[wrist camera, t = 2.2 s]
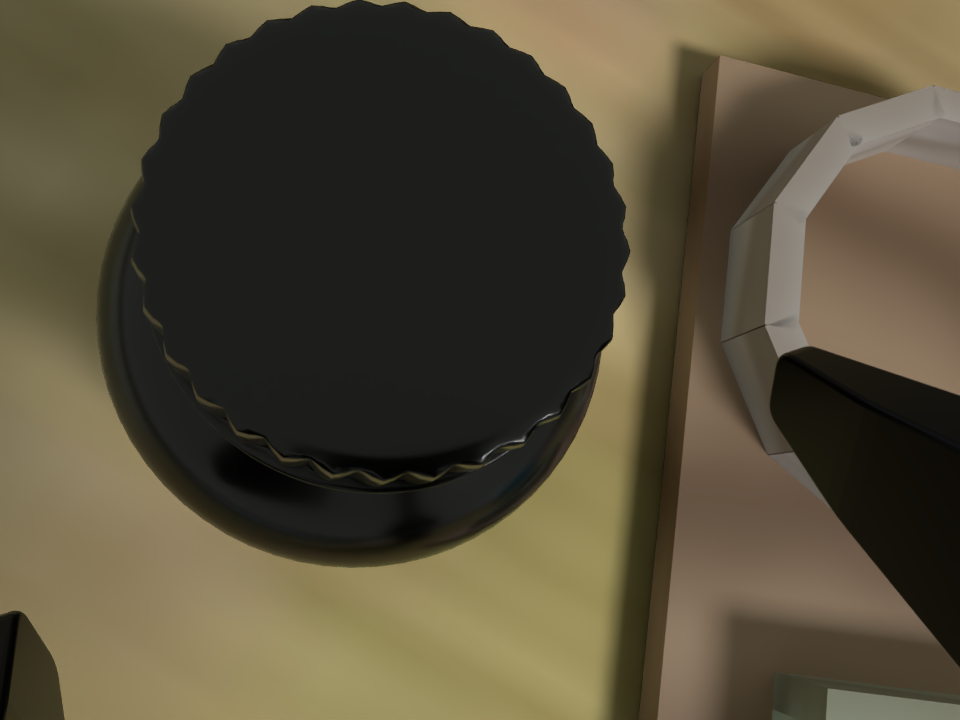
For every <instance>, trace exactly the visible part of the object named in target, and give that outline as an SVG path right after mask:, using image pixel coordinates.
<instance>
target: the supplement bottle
mask: <svg viewBox="0 0 960 720" xmlns="http://www.w3.org/2000/svg"><path fill="white" fill-rule="evenodd" d="M159 132H160V133H159V139H158V141H157V142H156V143H155V145H153V146H152V147H151V148H150V149H149V150H148V151H147V153H146V154H145V155H144V157H143V158H142V160H141V170H142V176H141V177H140V179H139V180H138V182H137V183H136V185H135V186H134V188H133V189H132V191H131V193H130V194H129V196H128V198H127V200H126V202H125V204H124V205H123V207H122V209H121V211H120V213H119V215H118V217H117V220H116V222H115V225H114V228H113V230H112V233H111V235H110V238H109V241H108V244H107V248H106V252H105V256H104V259H103V263H102V267H101V274H100V280H99V286H98V294H97V315H96V320H97V336H98V347H99V353H100V359H101V365H102V370H103V374H104V377H105V381H106V384H107V388H108V391H109V395H110V397H111V400H112V402H113V405H114V407H115V410H116V412H117V415H118V417H119V419H120V421H121V423H122V425H123V427H124V429H125V431H126V433H127V435H128V436H129V438H130V440H131V442H132V444H133V445H134V447H135V448H136V449H137V451H138V452H139V454H140V455H141V457H142V458H143V460H144V461H145V463H146V464H147V465H148V467H149V468H150V469H151V470H152V471H153V473H154V474H155V475H156V476H157V477H158V479H159V480H160V481H161V482H162V483H163V485H164V486H165V487H167V488H168V489H169V490H170V491H171V492H172V493H173V494H174V495H175V496H176V497H177V498H178V499H179V500H180V501H181V502H182V503H183V504H184V505H186V506H187V507H188V508H189V509H191V510H192V511H193V512H195V513H196V514H197V515H198V516H200V517H201V518H202V519H203V520H205V521H206V522H208V523H210V524H211V525H213V526H214V527H216V528H217V529H219V530H221V531H222V532H224V533H225V534H227V535H229V536H231V537H233V538H235V539H237V540H239V541H241V542H243V543H245V544H247V545H249V546H251V547H254V548H257V549H259V550H262V551H265V552H267V553H270V554H272V555H275V556H279V557H283V558H287V559H290V560H294V561H298V562H303V563H309V564H315V565H321V566H332V567H348V568H356V567H379V566H386V565H393V564H400V563H406V562H410V561H414V560H418V559H422V558H426V557H429V556H432V555H435V554H438V553H441V552H444V551H447V550H449V549H452V548H454V547H456V546H458V545H461V544H463V543H465V542H467V541H469V540H471V539H474V538H475V537H477V536H479V535H480V534H482V533H484V532H485V531H487V530H489V529H490V528H492V527H494V526H495V525H497V524H498V523H499V522H501V521H502V520H503V519H505V518H506V517H507V516H509V515H510V514H512V513H513V512H514V511H515V510H516V509H518V508H519V507H520V506H521V505H522V504H523V503H524V502H525V501H526V500H528V499H529V498H530V497H531V496H532V495H533V494H534V493H535V492H536V491H537V489H538V488H539V487H540V486H541V485H542V484H543V483H544V482H545V481H546V480H547V478H548V477H549V476H550V475H551V473H552V472H553V471H554V469H555V468H556V466H557V465H558V464H559V462H560V461H561V460H562V458H563V457H564V455H565V453H566V452H567V450H568V448H569V447H570V445H571V443H572V442H573V440H574V438H575V436H576V434H577V432H578V430H579V428H580V426H581V423H582V421H583V419H584V417H585V415H586V412H587V409H588V406H589V404H590V401H591V398H592V395H593V392H594V388H595V384H596V380H597V375H598V371H599V365H600V358H601V351H602V350H603V349H604V348H605V347H606V346H607V345H608V344H609V343H610V342H611V340H612V337H613V314H614V313H615V311H616V310H617V309H618V308H619V306H620V305H621V303H622V301H623V299H624V298H625V284H624V281H623V277H622V271H623V269H624V267H625V265H626V262H627V260H628V257H629V254H630V249H629V245H628V241H627V239H626V237H625V235H624V232H623V229H622V228H623V222H624V219H625V212H626V206H625V204H624V202H623V200H622V198H621V196H620V195H619V193H618V192H617V190H616V188H615V187H614V183H613V178H614V170H613V163H612V162H611V161H610V159H609V158H608V157H607V155H606V154H605V153H604V152H603V151H602V150H601V149H600V148H599V146H598V145H597V140H596V134H595V131H594V128H593V124H592V123H591V122H590V121H589V120H588V119H587V118H586V117H585V116H584V115H582V114H581V113H580V112H579V111H577V110H576V109H575V108H574V107H573V104H572V102H571V99H570V96H569V94H568V92H567V90H566V88H565V87H564V86H563V85H561V84H559V83H558V82H556V81H555V80H553V79H551V78H549V77H547V76H546V75H544V73H543V72H542V71H541V69H540V67H539V65H538V63H537V62H536V61H535V59H534V58H533V57H532V56H531V55H529V54H526V53H524V52H522V51H519V50H516V49H513V48H510V47H509V46H508V45H507V44H506V43H505V42H504V41H503V40H502V38H501V37H500V36H499V35H497V34H496V33H495V32H494V31H493V30H489V29H484V28H479V27H472V26H469V25H468V24H467V23H465V22H464V21H463V20H461V19H460V18H459V17H457V16H456V15H454V14H453V13H451V12H426V11H423V10H421V9H419V8H417V7H416V6H414V5H412V4H409V3H407V2H399V3H393V4H388V5H384V6H380V5H376V4H373V3H371V2H367V1H363V0H355V1H352V2H349V3H346V4H344V5H342V6H340V7H337V8H330V7H325V6H312V5H311V6H310V7H308V8H306V9H305V10H303V11H301V12H300V13H299V14H297V15H296V16H295V17H293V18H287V19H275V20H267V21H266V22H265V23H264V24H262V25H261V26H260V27H259V28H258V29H257V30H256V32H255V33H254V34H253V35H252V36H251V37H249V38H246V39H243V40H237V41H234V42H231V43H228V44H226V45H225V46H224V48H223V49H222V50H221V52H220V53H219V55H218V57H217V59H216V60H215V62H214V64H212V65H210V66H208V67H206V68H204V69H202V70H200V71H198V72H196V73H195V74H193V75H191V76H190V78H189V80H188V83H187V85H186V88H185V92H184V95H183V98H182V99H181V100H180V101H179V102H178V103H177V104H175V105H173V106H171V107H170V108H169V109H168V110H167V111H166V112H164V113H163V114H162V116H161V122H160V128H159Z"/></svg>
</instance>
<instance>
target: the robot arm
mask: <svg viewBox="0 0 960 720" xmlns="http://www.w3.org/2000/svg"><path fill="white" fill-rule="evenodd" d="M769 407H770V413H771V416H772V418H773V421H774V422H775V424H776V426H777V427H778V429H779V430H780V432H781V433H782V435H783V436H784V438H785V440H786V441H787V443H788V444H789V446H790V447H791V449H792V450H793V452H794V453H795V455H796V456H797V458H798V459H799V461H800V462H801V464H802V465H803V467H804V469H805V470H806V472H807V473H808V475H809V476H810V478H811V479H812V481H813V482H814V484H815V485H816V487H817V488H818V490H819V491H820V493H821V494H822V496H823V497H824V499H825V501H826V502H827V503H828V505H829V506H830V508H831V509H832V510H833V512H834V513H835V515H836V516H837V517H838V519H839V520H840V521H841V523H842V524H843V525H844V526H845V528H846V529H847V530H848V532H849V533H850V534H851V535H852V537H853V538H854V539H855V540H856V541H857V543H858V544H859V545H860V546H861V548H862V549H863V550H864V551H865V552H866V554H867V555H868V556H869V557H870V559H871V560H872V561H873V562H874V563H875V565H876V566H877V567H878V568H879V570H880V571H881V572H882V573H883V575H884V576H885V577H886V578H887V579H888V581H889V582H890V583H891V584H892V586H893V587H894V588H895V589H896V590H897V592H898V593H899V594H900V595H901V597H902V598H903V599H904V600H905V602H906V603H907V604H908V605H909V606H910V608H911V609H912V610H913V611H914V613H915V614H916V615H917V616H918V617H919V619H920V620H921V621H922V622H923V624H924V625H925V626H926V627H927V628H928V630H929V631H930V632H931V633H932V635H933V636H934V637H935V638H936V640H937V641H938V642H939V643H940V644H941V646H942V647H943V648H944V649H945V651H946V652H947V653H948V654H949V655H950V657H951V658H952V659H953V660H954V662H955V663H956V664H957V665H958V666H959V668H960V395H958V394H955V393H952V392H949V391H946V390H943V389H940V388H937V387H934V386H931V385H928V384H925V383H922V382H919V381H916V380H913V379H910V378H907V377H904V376H901V375H898V374H895V373H892V372H889V371H886V370H883V369H880V368H877V367H874V366H871V365H868V364H865V363H862V362H859V361H856V360H853V359H850V358H847V357H844V356H841V355H838V354H835V353H832V352H829V351H826V350H823V349H820V348H816V347H813V346H806V347H802V348H799V349H796V350H793V351H790V352H787V353H784V354H782V355H781V356H780V357H779V359H778V360H777V362H776V366H775V372H774V378H773V384H772V389H771V395H770V401H769ZM0 720H65V719H64V712H63V705H62V698H61V691H60V684H59V677H58V672H57V668H56V665H55V662H54V660H53V657H52V655H51V654H50V652H49V650H48V649H47V647H46V646H45V644H44V643H43V641H42V639H41V638H40V636H39V635H38V633H37V632H36V630H35V628H34V627H33V625H32V624H31V622H30V621H29V619H28V618H27V616H26V615H25V614H24V613H22V612H21V611H11V612H8V613H5V614H2V615H0Z"/></svg>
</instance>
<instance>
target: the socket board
mask: <svg viewBox="0 0 960 720" xmlns="http://www.w3.org/2000/svg"><path fill="white" fill-rule="evenodd" d="M806 346H813V347H816V348H820V349H823V350H826V351H829V352H832V353H835V354H838V355H841V356H844V357H847V358H850V359H853V360H856V361H859V362H862V363H865V364H868V365H871V366H874V367H877V368H880V369H883V370H886V371H889V372H892V373H895V374H898V375H901V376H904V377H907V378H910V379H913V380H916V381H919V382H922V383H925V384H928V385H931V386H934V387H937V388H940V389H943V390H946V391H949V392H952V393H955V394H958V395H960V92H958V91H954V90H950V89H946V88H943V87H939V86H935V85H934V86H933V85H932V86H929V87H926V88H922V89H919V90H916V91H913V92H910V93H907V94H904V95H901V96H898V97H894V98H891V99H886V98H883V97H879V96H875V95H871V94H867V93H863V92H860V91H856V90H852V89H848V88H844V87H841V86H837V85H833V84H829V83H825V82H821V81H818V80H814V79H810V78H806V77H802V76H799V75H795V74H791V73H787V72H783V71H779V70H776V69H772V68H768V67H764V66H760V65H757V64H753V63H749V62H745V61H741V60H737V59H734V58H730V57H726V56H722V55H720V56H719V57H718V58H717V59H716V60H715V61H714V62H713V63H712V64H711V65H710V66H709V67H708V69H707V70H706V71H705V72H704V73H703V74H702V82H701V92H700V102H699V112H698V123H697V133H696V143H695V153H694V163H693V173H692V183H691V194H690V204H689V214H688V224H687V234H686V244H685V255H684V265H683V275H682V285H681V295H680V305H679V315H678V326H677V336H676V346H675V356H674V366H673V376H672V386H671V397H670V407H669V417H668V427H667V437H666V447H665V457H664V468H663V478H662V488H661V498H660V508H659V518H658V528H657V539H656V549H655V559H654V569H653V579H652V589H651V599H650V610H649V620H648V630H647V640H646V650H645V660H644V670H643V681H642V691H641V701H640V711H639V720H960V668H959V666H958V665H957V664H956V663H955V662H954V660H953V659H952V658H951V657H950V655H949V654H948V653H947V652H946V651H945V649H944V648H943V647H942V646H941V644H940V643H939V642H938V641H937V640H936V638H935V637H934V636H933V635H932V633H931V632H930V631H929V630H928V628H927V627H926V626H925V625H924V624H923V622H922V621H921V620H920V619H919V617H918V616H917V615H916V614H915V613H914V611H913V610H912V609H911V608H910V606H909V605H908V604H907V603H906V602H905V600H904V599H903V598H902V597H901V595H900V594H899V593H898V592H897V590H896V589H895V588H894V587H893V586H892V584H891V583H890V582H889V581H888V579H887V578H886V577H885V576H884V575H883V573H882V572H881V571H880V570H879V568H878V567H877V566H876V565H875V563H874V562H873V561H872V560H871V559H870V557H869V556H868V555H867V554H866V552H865V551H864V550H863V549H862V548H861V546H860V545H859V544H858V543H857V541H856V540H855V539H854V538H853V537H852V535H851V534H850V533H849V532H848V530H847V529H846V528H845V526H844V525H843V524H842V523H841V521H840V520H839V519H838V517H837V516H836V515H835V513H834V512H833V510H832V509H831V508H830V506H829V505H828V503H827V502H826V501H825V499H824V497H823V496H822V494H821V493H820V491H819V490H818V488H817V487H816V485H815V484H814V482H813V481H812V479H811V478H810V476H809V475H808V473H807V472H806V470H805V469H804V467H803V465H802V464H801V462H800V461H799V459H798V458H797V456H796V455H795V453H794V452H793V450H792V449H791V447H790V446H789V444H788V443H787V441H786V440H785V438H784V436H783V435H782V433H781V432H780V430H779V429H778V427H777V426H776V424H775V422H774V421H773V418H772V416H771V413H770V407H769V401H770V395H771V389H772V384H773V378H774V372H775V366H776V362H777V360H778V359H779V357H780V356H781V355H782V354H784V353H787V352H790V351H793V350H796V349H799V348H802V347H806Z"/></svg>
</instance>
